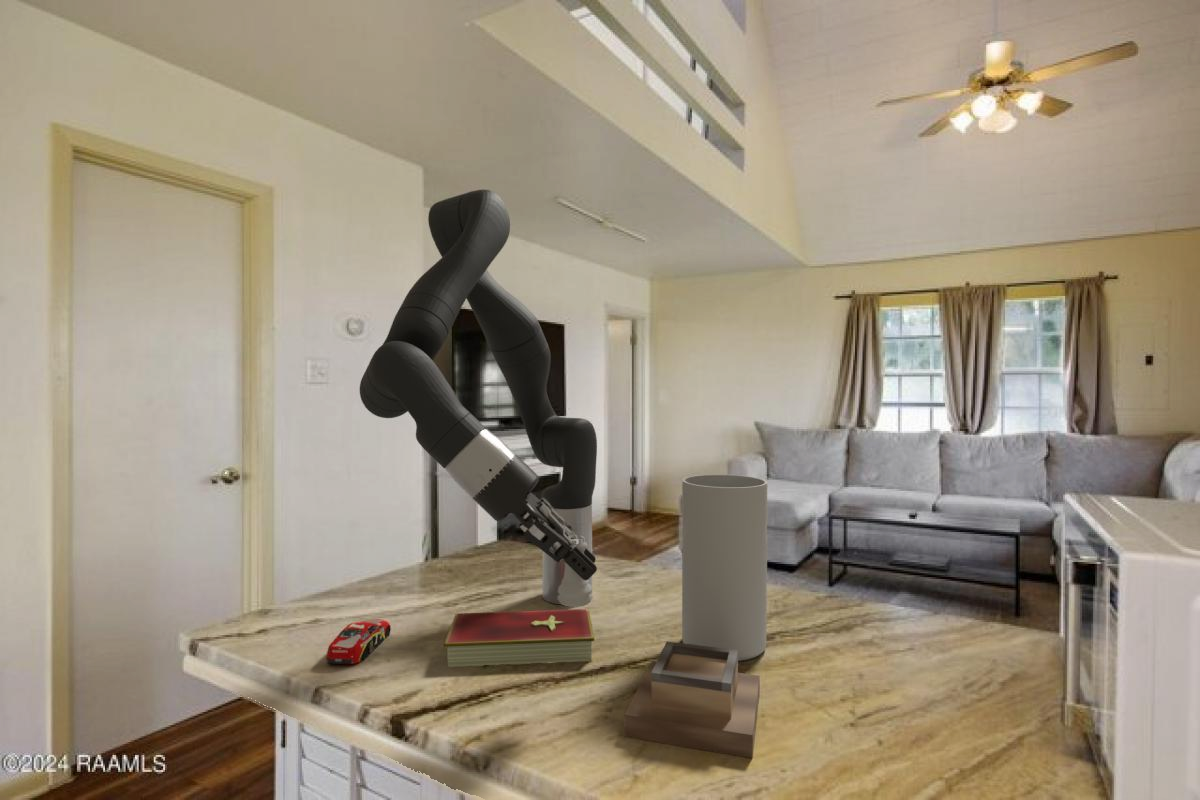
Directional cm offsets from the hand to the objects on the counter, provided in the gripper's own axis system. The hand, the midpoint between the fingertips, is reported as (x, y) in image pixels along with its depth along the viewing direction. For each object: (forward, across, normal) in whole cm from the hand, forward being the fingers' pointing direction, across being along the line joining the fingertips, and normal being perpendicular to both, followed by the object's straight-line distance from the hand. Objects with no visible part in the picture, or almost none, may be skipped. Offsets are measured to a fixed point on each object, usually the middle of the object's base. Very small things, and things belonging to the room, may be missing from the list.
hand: (591, 569), depth 78 cm
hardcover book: (+5, +16, +19) cm, 25 cm away
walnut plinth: (+20, -4, +3) cm, 21 cm away
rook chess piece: (+2, 0, +4) cm, 5 cm away
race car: (-12, +17, +36) cm, 42 cm away
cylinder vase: (+26, +15, -2) cm, 30 cm away
